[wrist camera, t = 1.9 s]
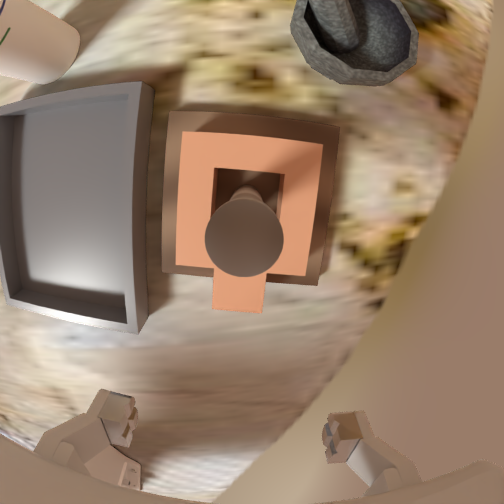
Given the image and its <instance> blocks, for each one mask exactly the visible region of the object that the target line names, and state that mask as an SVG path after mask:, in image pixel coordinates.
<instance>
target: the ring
mask: <svg viewBox="0 0 504 504" xmlns="http://www.w3.org/2000/svg"><path fill="white" fill-rule="evenodd" d="M322 150H323V144H317V143H310V142H303V141H296V140H288V139H280V138H272V137H262V136H252V135H240V134H227V133H210V132H185V131H183V132H182V143H181V155H180V168H179V183H178V201H177V225H176V265H183V266H193V267H204V268H214V279H213V300H212V309H218V310H229V311H240V312H253V313H262V307H263V299H264V291H265V283H266V274H267V273H272V274H285V275H297V276H305V274H306V268H307V262H308V256H309V249H310V243H311V236H312V229H313V222H314V215H315V208H316V200H317V193H318V185H319V177H320V168H321V159H322ZM218 168H228V169H240V170H251V171H262V172H271V173H280V183H279V192H278V201H277V210H276V216H277V218H278V220H279V222H280V224H281V226H282V229H283V235H284V244H283V249H282V252H281V254H280V256H279V258H278V260H277V261H276V262H275V264H274V265H273V266H272V267H271V268H269V269H268V270H267V271H265V272H263V273H261V274H259V275H256V276H252V277H237V276H233V275H230V274H227V273H225V272H224V271H222V270H221V269H219V268H218V267H217V266H216V265H215V264H214V263H213V262H212V260H211V259H210V257H209V255H208V253H207V250H206V247H205V231H206V227H207V225H208V222H209V221H210V219H211V217H212V216H213V214H214V213H215V204H216V191H217V178H218Z"/></svg>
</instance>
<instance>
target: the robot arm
mask: <svg viewBox="0 0 504 504" xmlns="http://www.w3.org/2000/svg"><path fill="white" fill-rule="evenodd" d="M135 403H136V402H135V398H134V397H131V396H127V395H123V394H120V393H116V392H112V391H108V390H104V389H101V390H99V391H98V393H97V395H96V397H95V399H94V400H93V402H92V404H91V406H90V408H89V409H88V411H87V413H82V414H80V415H78V416H76V417H74V418H72V419H70V420H68V421H67V422H65V423H63V424H61V425H59V426H57V427H55V428H52V429H50V430H48V431H46V432H44V434H43V436H42V437H41V439H40V441H39V443H38V444H37V446H36V448H35V449H34V451H31V450H29V449H27V448H25V447H23V446H21V445H19V444H18V443H16V442H14V441H12V440H10V439H9V438H7V437H5V436H4V435H2V434H0V504H216V503H206V502H198V501H190V500H184V499H177V498H172V497H166V496H161V495H156V494H151V493H147V492H143V491H140V477H141V465H140V464H139V463H137V462H135V461H134V460H132V459H130V458H128V457H126V456H124V455H123V454H121V453H120V452H119V451H118V450H116V449H115V448H114V447H112V446H111V445H110V443H111V444H115V445H119V446H123V447H128V448H129V446H130V443H131V440H132V438H133V435H132V432H131V431H133V430H135V429H136V426H137V422H138V411H137V409H136V408H135V407H134V406H135ZM327 419H328V423H327V424H325V425H324V428H323V432H322V440H323V444H324V445H325V446H326V447H327V449H326V451H325V454H326V458H327V462H328V464H329V463H342V462H346V464H347V465H348V466H349V467H350V468H351V469H352V470H354V472H355V473H356V474H357V475H358V476H359V477H360V478H361V479H362V480H364V482H365V483H367V484H368V485H369V486H370V488H369V489H368V490H367V491H366V492H365V493H364V494H363V496H362V497H360V498H354V499H348V500H341V501H334V502H326V503H317V504H504V468H503V467H501V466H499V465H497V464H495V463H492V462H490V461H487V460H484V459H482V460H478V461H476V462H473V463H471V464H469V465H467V466H464V467H462V468H459V469H457V470H455V471H452V472H450V473H447V474H444V475H442V476H439V477H436V478H433V479H430V480H427V481H424V482H422V480H421V477H420V475H419V473H418V470H417V468H416V466H415V463H414V462H413V461H412V460H410V459H409V458H407V457H406V456H404V455H403V454H401V453H400V452H399V451H397V450H396V449H394V448H393V447H391V446H390V445H389V444H387V443H386V442H384V441H383V440H382V439H380V438H379V437H375V436H374V434H373V431H372V428H371V426H370V423H369V421H368V419H367V416H366V414H365V412H364V411H354V412H339V413H330V414H329V416H328V418H327Z"/></svg>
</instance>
